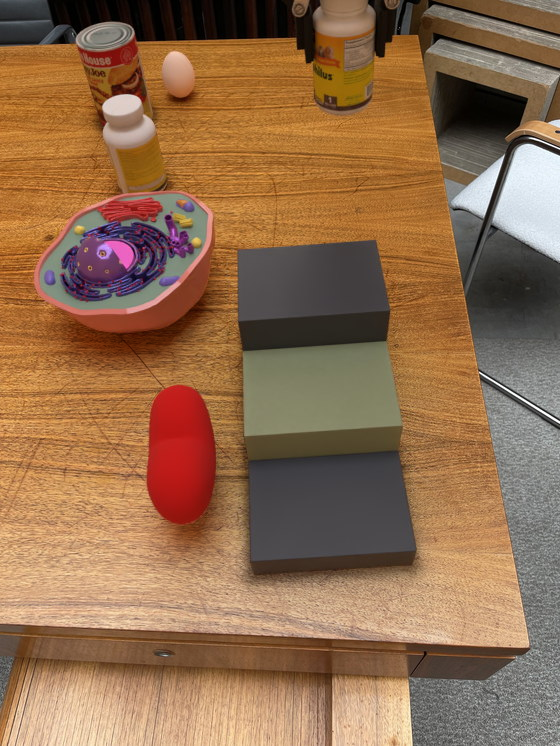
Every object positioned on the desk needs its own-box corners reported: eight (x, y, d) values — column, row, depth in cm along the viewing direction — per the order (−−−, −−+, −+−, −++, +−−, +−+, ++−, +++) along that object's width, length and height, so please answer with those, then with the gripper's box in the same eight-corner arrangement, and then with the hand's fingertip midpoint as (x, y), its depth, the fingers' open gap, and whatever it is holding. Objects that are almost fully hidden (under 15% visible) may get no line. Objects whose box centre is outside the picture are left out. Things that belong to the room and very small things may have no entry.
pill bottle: (177, 189, 84) (158, 106, 74) (132, 208, 82) (108, 126, 72) (154, 166, 87) (134, 84, 78) (111, 184, 85) (85, 102, 76)
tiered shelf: (369, 318, 68) (376, 239, 59) (412, 564, 52) (430, 506, 43) (248, 327, 68) (237, 249, 60) (253, 575, 52) (239, 518, 43)
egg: (173, 108, 96) (164, 64, 90) (161, 93, 98) (152, 50, 93) (202, 98, 97) (195, 54, 91) (190, 84, 99) (182, 41, 94)
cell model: (260, 281, 72) (251, 199, 63) (131, 396, 64) (99, 320, 55) (157, 224, 79) (136, 143, 70) (28, 320, 71) (-15, 242, 62)
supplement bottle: (305, 95, 62) (301, -19, 54) (358, 82, 63) (361, -33, 55) (326, 124, 59) (325, 6, 51) (381, 110, 60) (389, -8, 52)
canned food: (90, 118, 95) (64, 36, 86) (134, 97, 98) (114, 16, 88) (118, 139, 91) (94, 56, 82) (163, 117, 94) (145, 34, 85)
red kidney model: (165, 437, 60) (141, 374, 53) (222, 431, 61) (207, 367, 53) (161, 555, 53) (132, 504, 45) (225, 549, 53) (208, 496, 45)
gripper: (218, -191, 41) (248, 82, 55) (488, -217, 40) (447, 66, 55) (221, -218, 45) (248, 41, 60) (464, -241, 45) (432, 26, 59)
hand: (343, 51), depth 57 cm, fingers closed on supplement bottle, 5 cm apart
